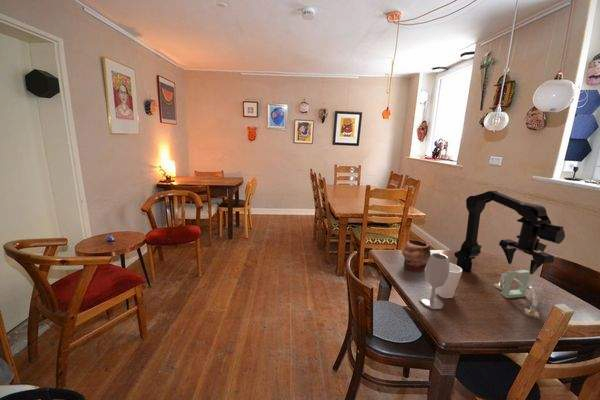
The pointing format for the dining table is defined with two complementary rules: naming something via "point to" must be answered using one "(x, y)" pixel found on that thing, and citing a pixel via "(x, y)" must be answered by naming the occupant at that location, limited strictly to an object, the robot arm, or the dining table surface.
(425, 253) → the decorative planter
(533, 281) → the dining table surface
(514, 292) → the mint green frame
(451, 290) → the foam cup
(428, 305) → the wineglass
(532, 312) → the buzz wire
